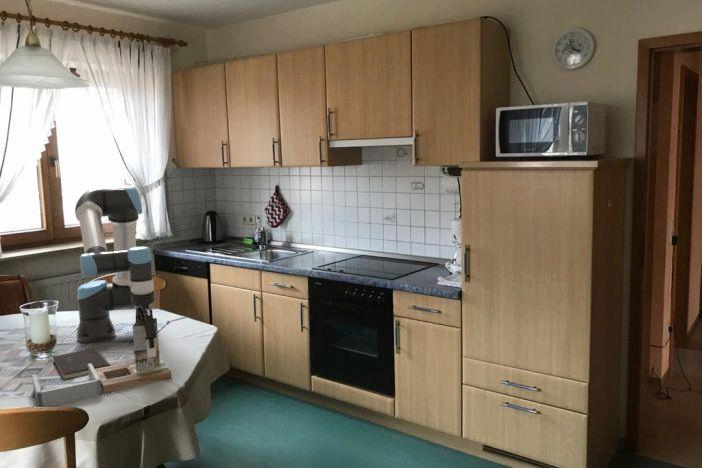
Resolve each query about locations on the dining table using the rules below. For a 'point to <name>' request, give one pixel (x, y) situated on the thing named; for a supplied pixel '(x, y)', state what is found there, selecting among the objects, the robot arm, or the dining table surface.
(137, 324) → the coffee box
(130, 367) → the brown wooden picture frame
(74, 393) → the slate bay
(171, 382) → the dining table surface
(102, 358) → the hardcover book
